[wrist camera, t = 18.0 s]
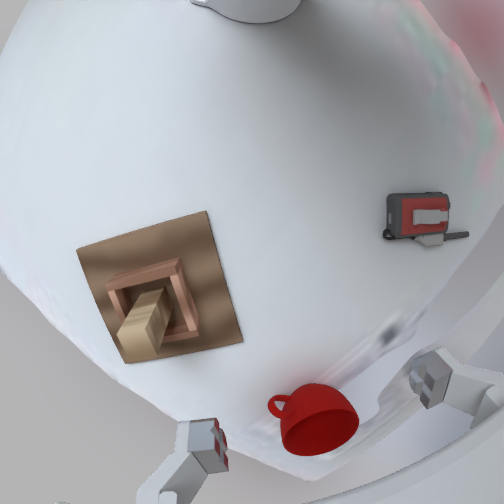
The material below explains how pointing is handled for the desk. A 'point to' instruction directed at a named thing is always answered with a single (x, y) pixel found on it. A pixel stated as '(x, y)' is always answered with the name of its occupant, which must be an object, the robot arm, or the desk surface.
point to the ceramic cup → (314, 419)
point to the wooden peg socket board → (165, 283)
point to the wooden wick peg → (146, 324)
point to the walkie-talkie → (419, 218)
